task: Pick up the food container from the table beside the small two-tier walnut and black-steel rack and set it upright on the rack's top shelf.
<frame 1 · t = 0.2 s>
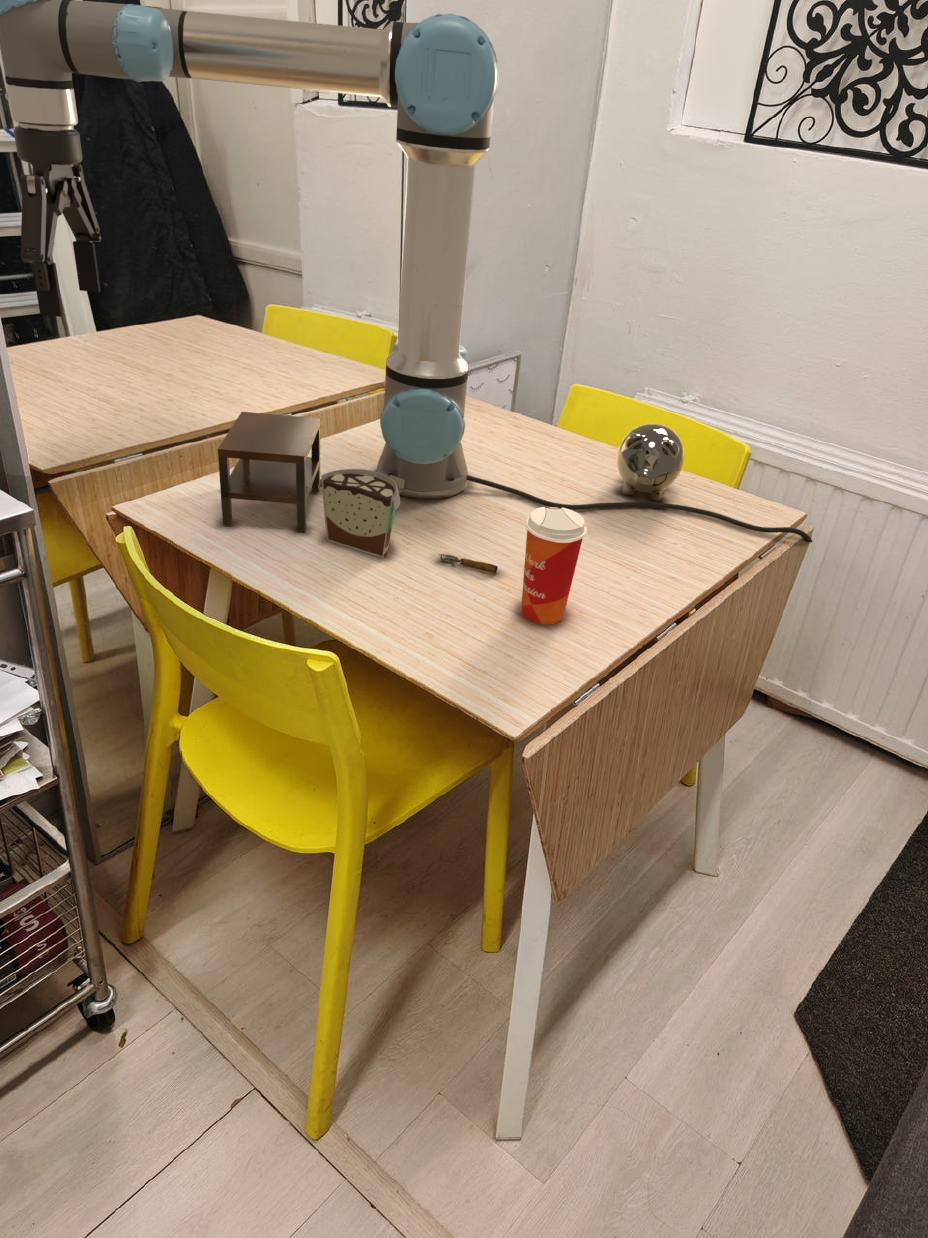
hand: (71, 302, 123), 28 cm above the table, tool pointing down, fingers open, 13 cm apart
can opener: (467, 566, 127), on the table
paper cup: (542, 614, 119), on the table
piggy bank: (642, 492, 155), on the table
food container: (365, 542, 131), on the table
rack: (273, 507, 138), on the table
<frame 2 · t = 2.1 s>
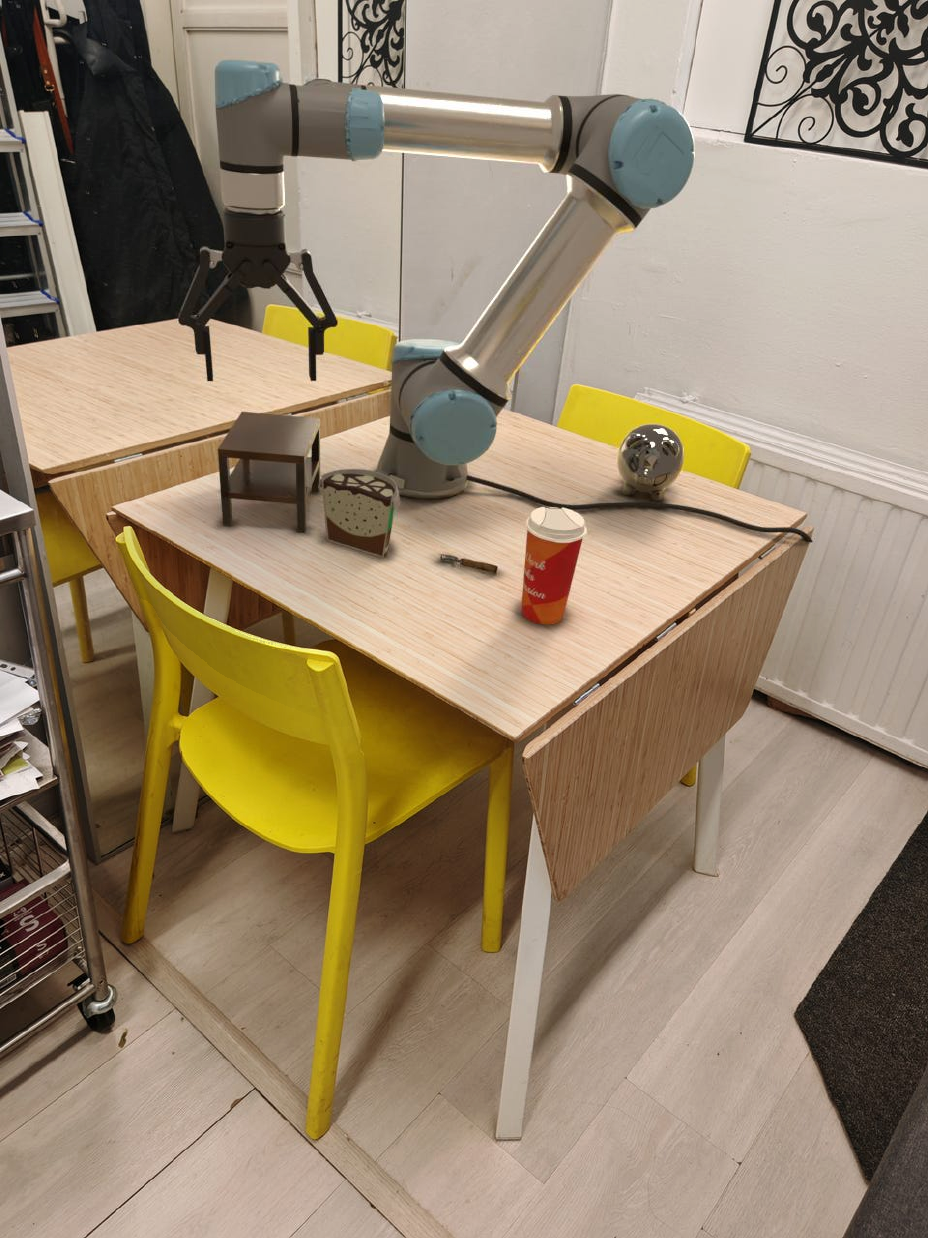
hand: (262, 378, 122), 22 cm above the table, tool pointing down, fingers open, 13 cm apart
nothing on the table moved.
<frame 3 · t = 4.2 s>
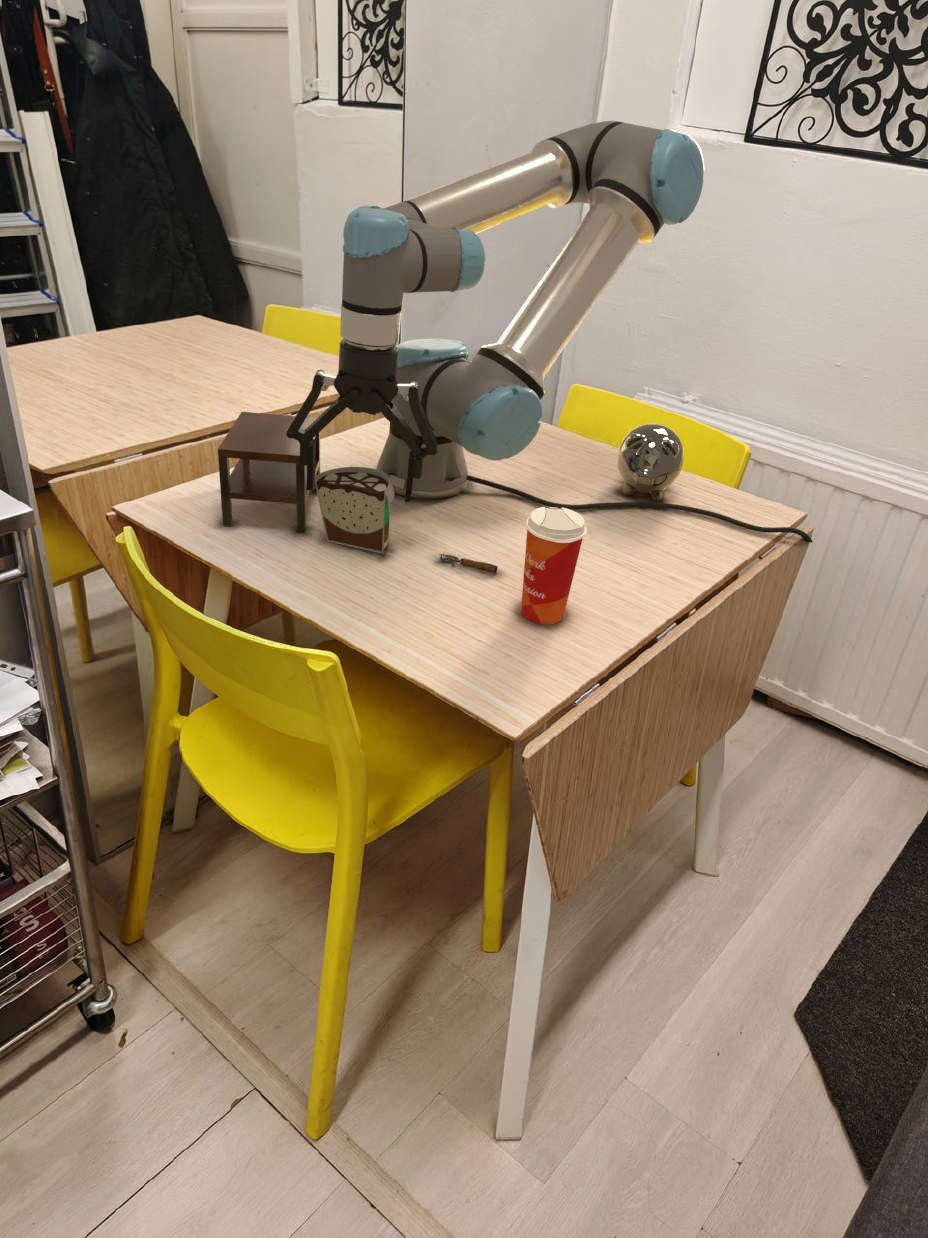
hand: (359, 492, 126), 8 cm above the table, tool pointing down, fingers open, 13 cm apart
food container: (365, 539, 131), on the table, touching gripper
everything else where it was.
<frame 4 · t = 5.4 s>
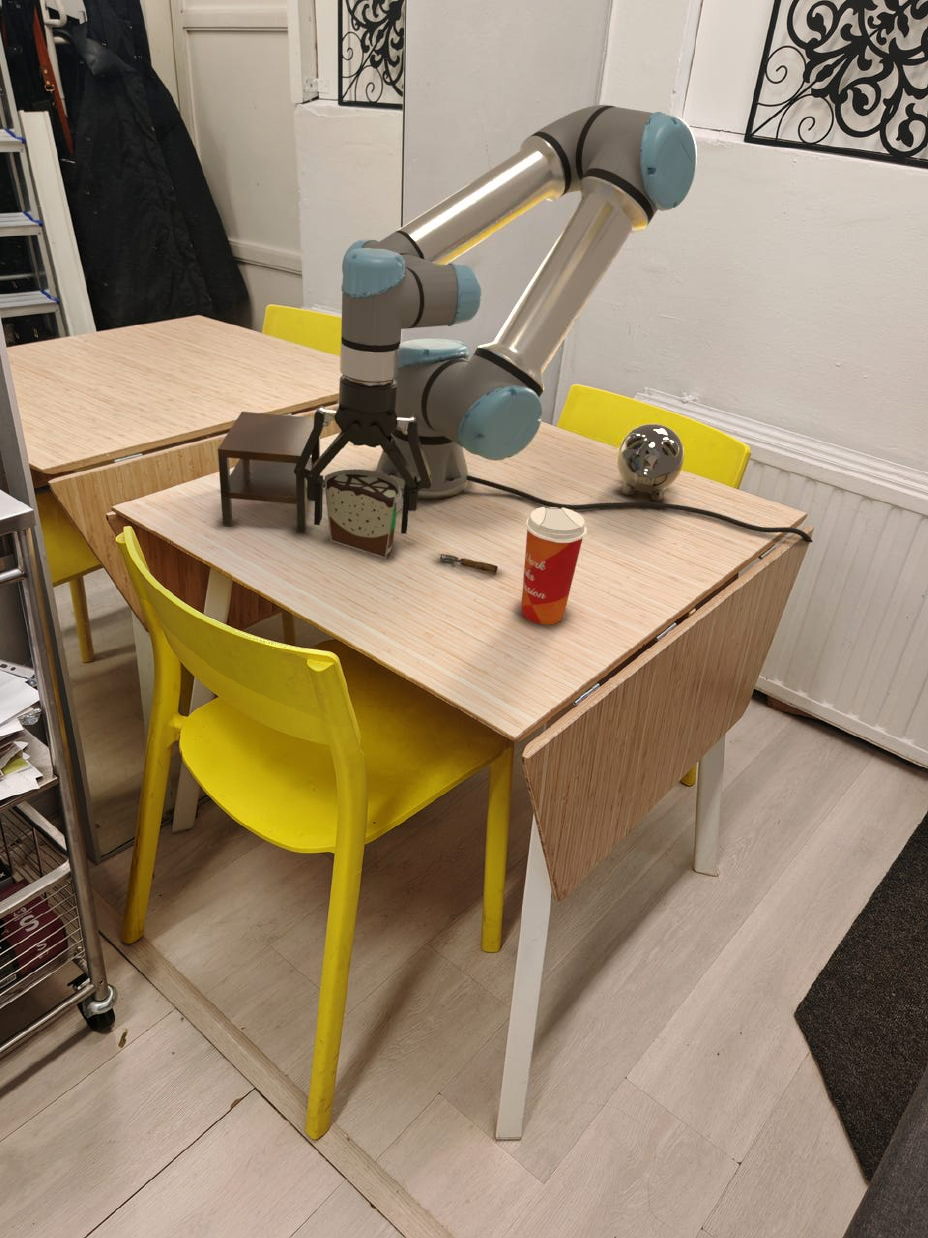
hand: (361, 525, 129), 3 cm above the table, tool pointing down, fingers closed on food container, 12 cm apart
food container: (368, 543, 131), on the table, touching gripper
everything else where it was.
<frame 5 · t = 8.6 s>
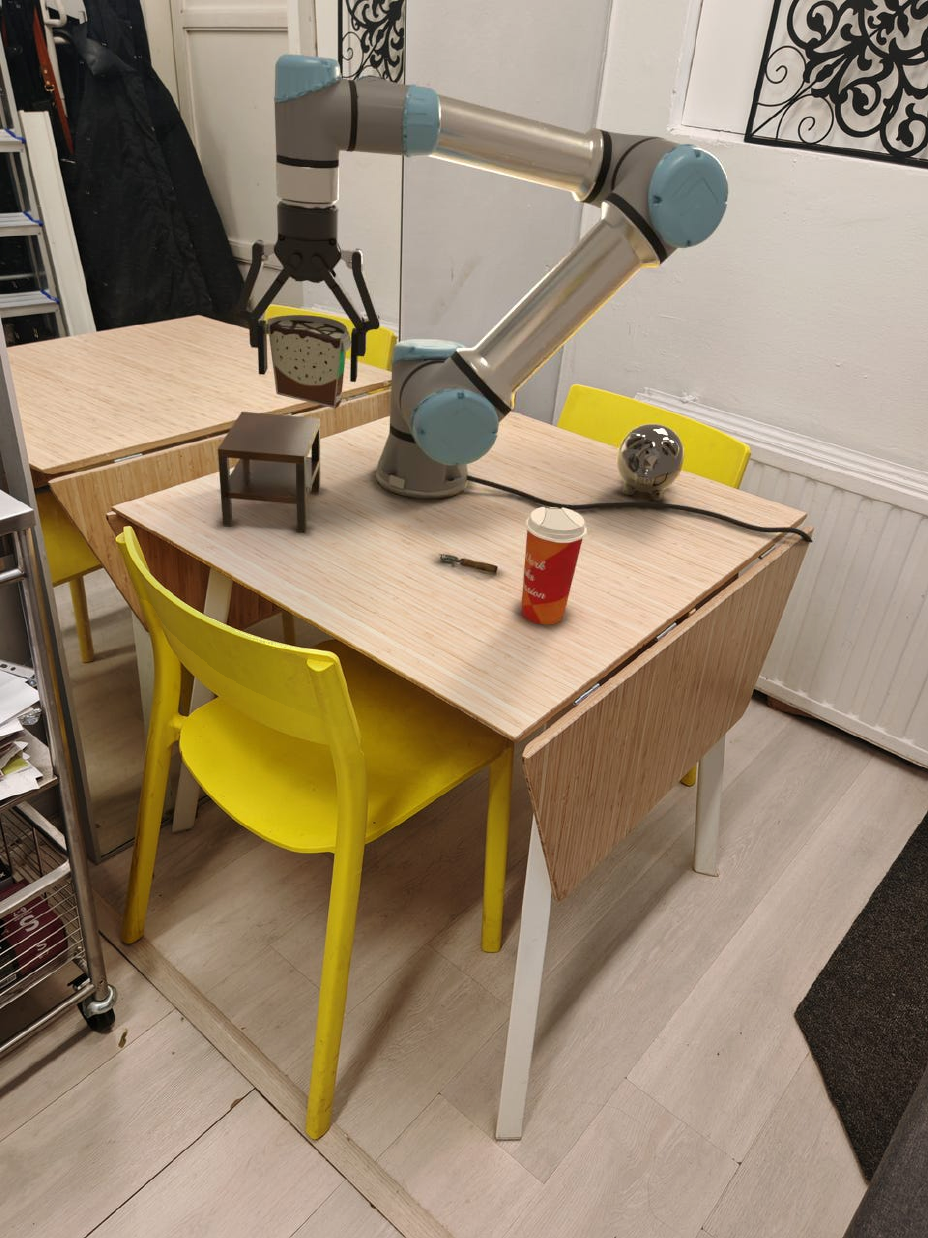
hand: (308, 375, 123), 22 cm above the table, tool pointing down, fingers closed on food container, 12 cm apart
food container: (317, 396, 125), point 19 cm above the table, touching gripper
everything else where it was.
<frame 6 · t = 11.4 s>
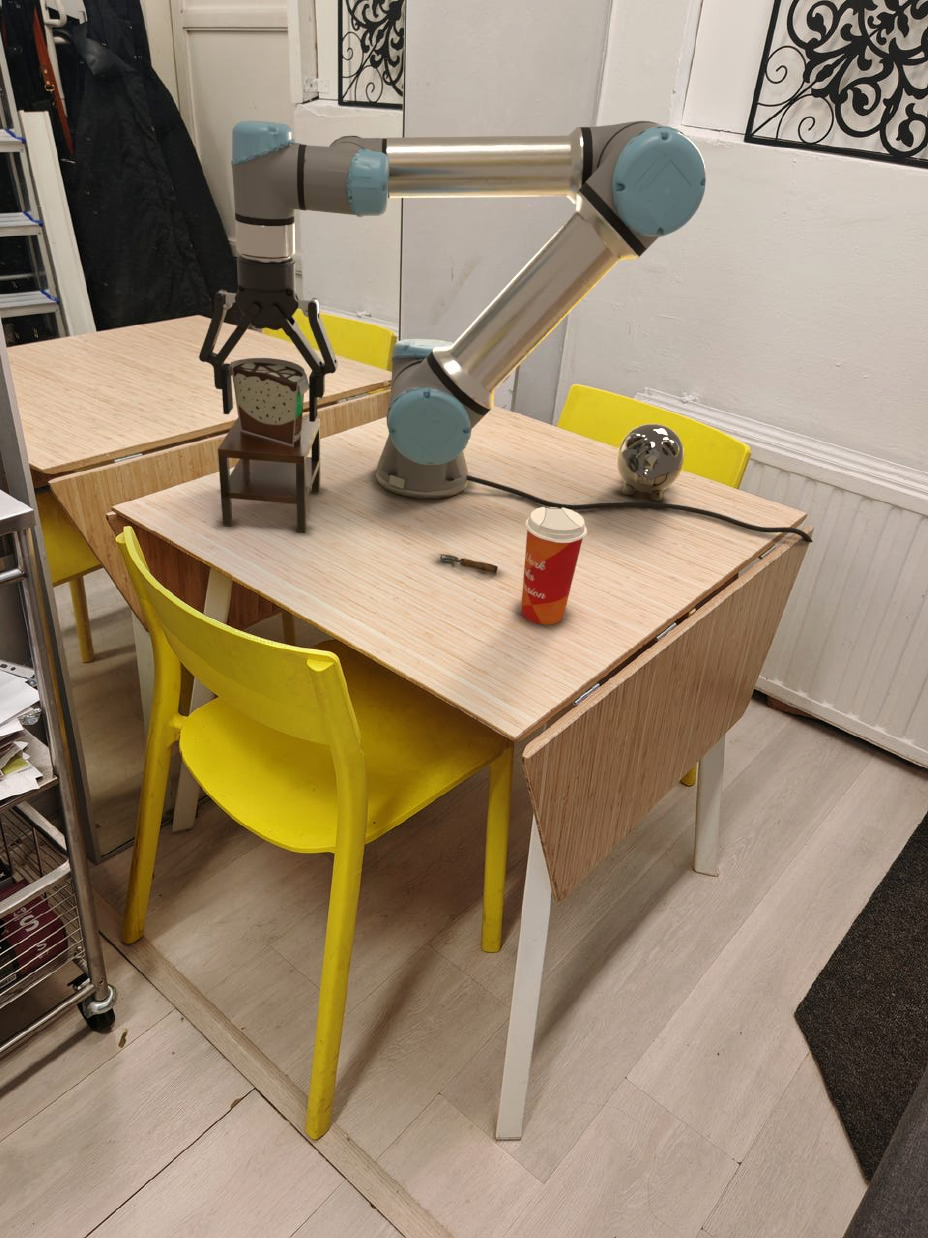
hand: (270, 414, 130), 15 cm above the table, tool pointing down, fingers closed on food container, 11 cm apart
food container: (279, 433, 131), point 12 cm above the table, touching gripper, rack
everything else where it was.
when the fingers open (15 cm above the table, at t = 11.9 s): food container stays where it is, resting on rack.
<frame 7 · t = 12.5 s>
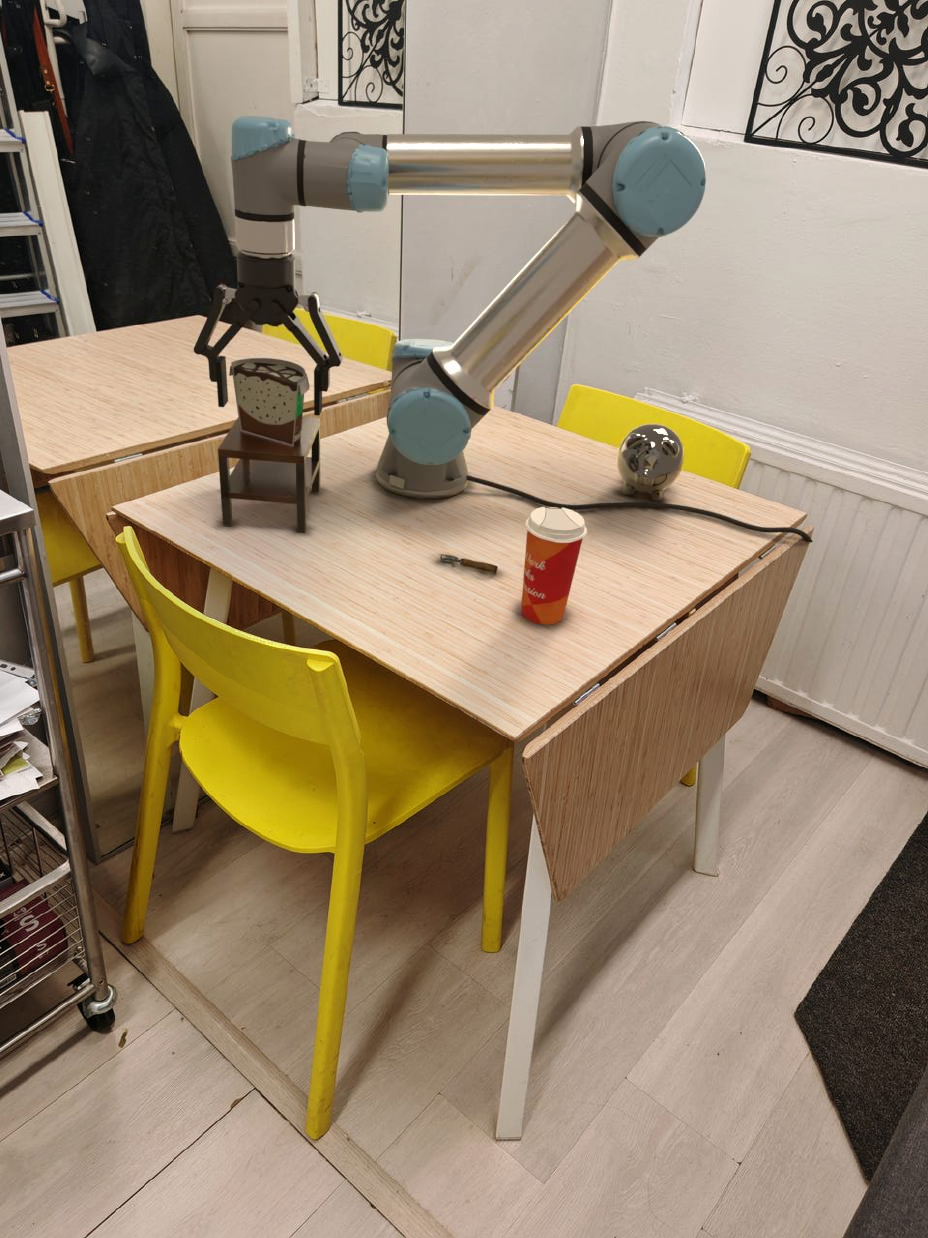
hand: (270, 408, 129), 16 cm above the table, tool pointing down, fingers open, 13 cm apart
food container: (279, 434, 131), point 12 cm above the table, touching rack
everything else where it was.
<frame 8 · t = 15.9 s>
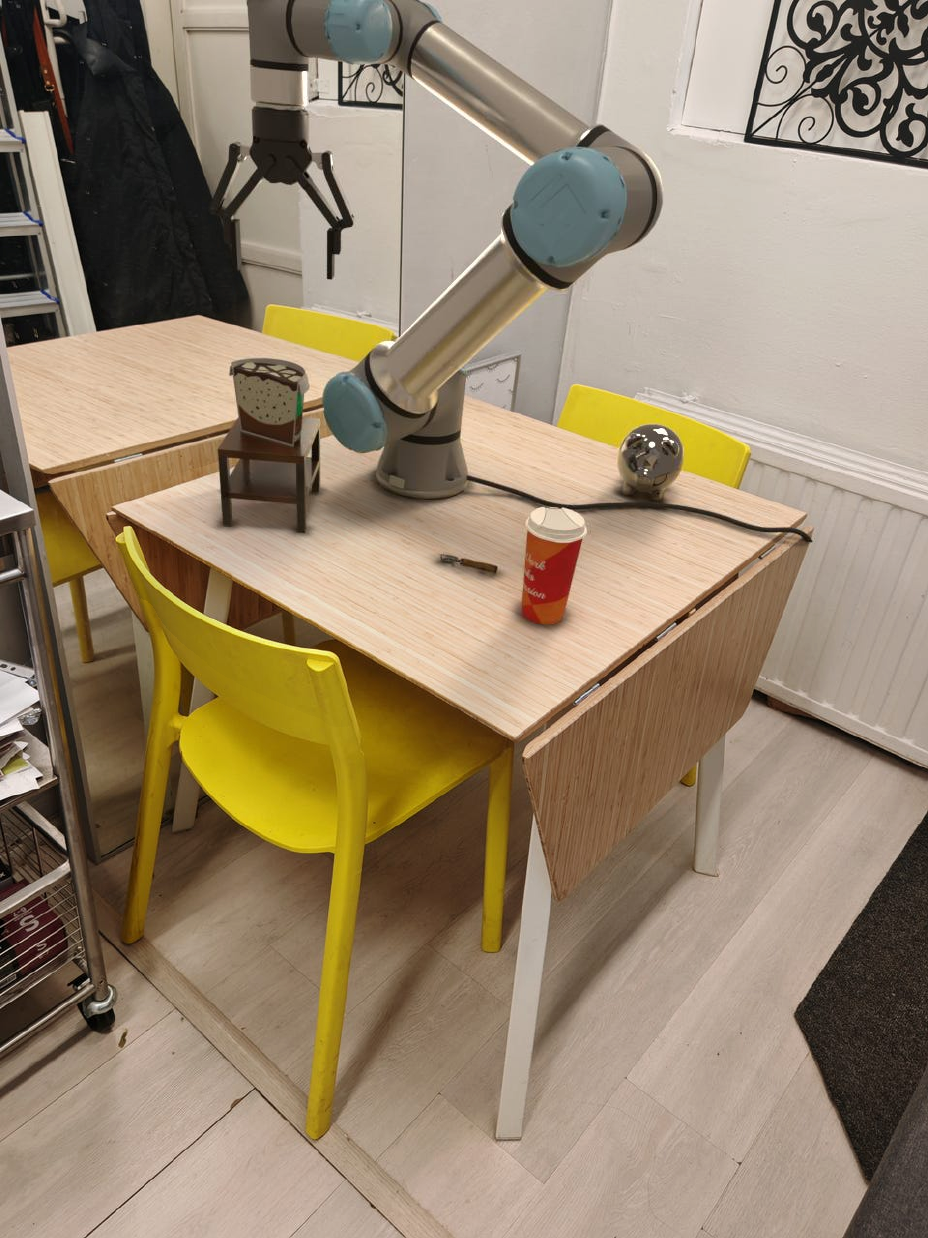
hand: (283, 273, 131), 32 cm above the table, tool pointing down, fingers open, 13 cm apart
nothing on the table moved.
at the end: food container inside the target area on the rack (1.1 cm from its centre), point 11.8 cm above the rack's base; food container tilted 0°; the gripper is holding nothing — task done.
